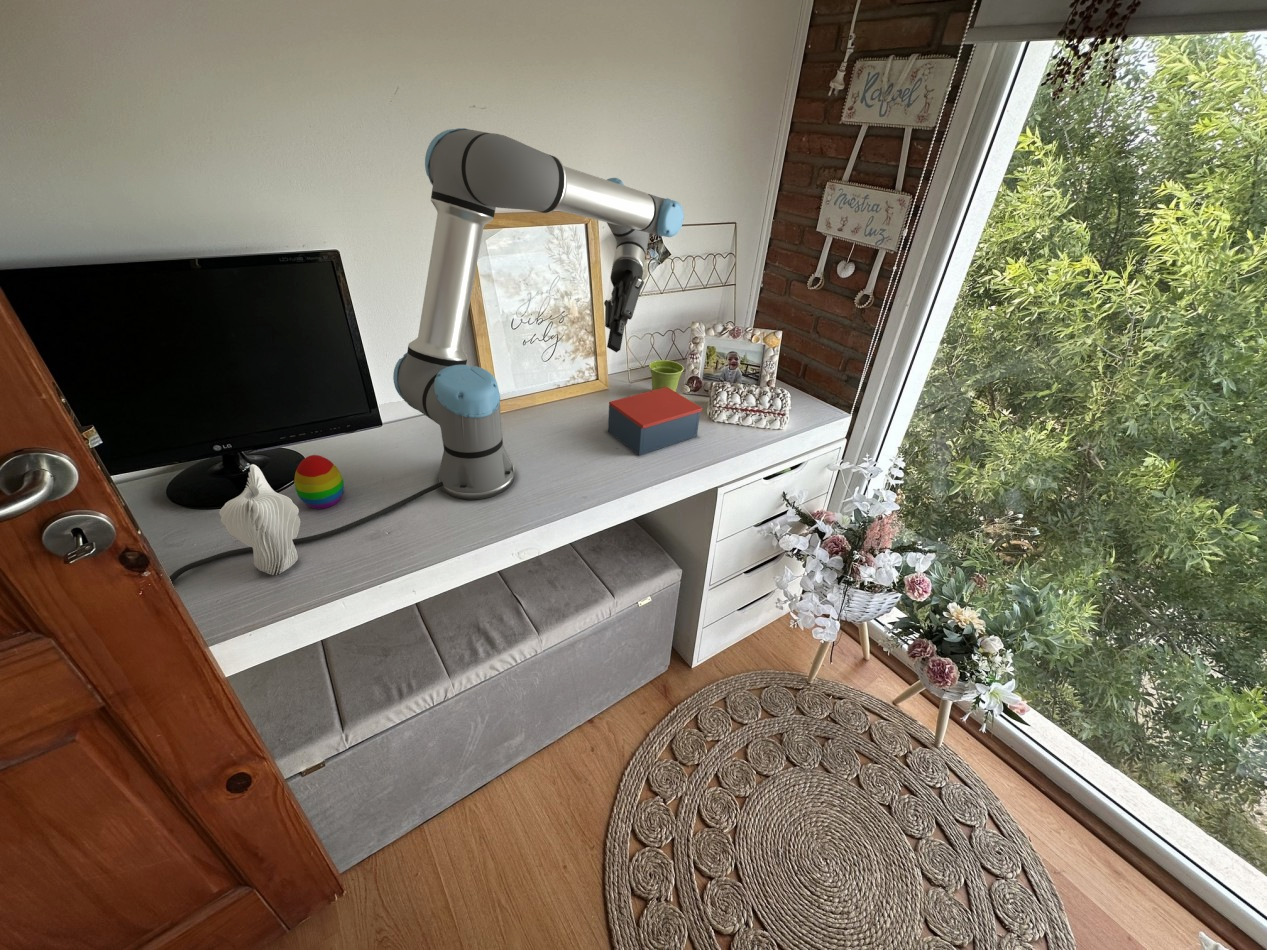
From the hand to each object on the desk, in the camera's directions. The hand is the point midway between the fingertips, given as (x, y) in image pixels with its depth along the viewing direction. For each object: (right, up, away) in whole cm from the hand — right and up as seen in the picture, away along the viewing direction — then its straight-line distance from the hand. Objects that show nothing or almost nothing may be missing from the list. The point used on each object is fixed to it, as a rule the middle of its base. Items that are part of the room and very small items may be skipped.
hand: (613, 348), depth 130 cm
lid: (+10, -12, +8) cm, 18 cm away
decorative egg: (-56, -34, -17) cm, 67 cm away
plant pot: (+13, -7, +31) cm, 34 cm away
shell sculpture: (-55, -44, -33) cm, 78 cm away
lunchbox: (+9, -18, +12) cm, 24 cm away
